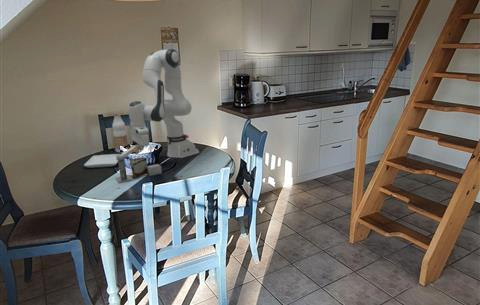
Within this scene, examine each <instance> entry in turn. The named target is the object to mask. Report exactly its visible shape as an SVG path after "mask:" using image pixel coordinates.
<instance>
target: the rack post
mask: <svg viewBox="0 0 480 305" xmlns="http://www.w3.org/2000/svg"><path fill="white" fill-rule="evenodd" d="M125 160H126V159H124V160H118V162H117V164H118V169H119V176H116V177H115V181H116V182H117V183H118V184H123V183H126V182H132V181H133V177H131V175H130V174H127V168H126V167H127V166H126V161H125Z"/></svg>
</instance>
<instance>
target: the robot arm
mask: <svg viewBox="0 0 480 305" xmlns="http://www.w3.org/2000/svg"><path fill="white" fill-rule="evenodd" d="M179 64H180V54H179V52H178V51H177V50H176V49H173V48H169V49H160V50H158V51H153V52H152V53H150V54H149V55H148V56H147V57H146V59H145V61H144V64H143V69H142V76H141V77H142V81H143V83H144V84H145V85H146V86H148V87H150V88H152V89H154V92H155V94H154V95H155V96H154V97H155V98H154V100H155V102H154V104H144V103H142V101H140V100H137V101H132V102H130V103H129V105H128V118H129V121H130V123H129V124H130V137H131V140H132V141H133V142H135V143H137V144H136V145H138V147H139V150H138V151H144V147H147V146H148V147H149V145H150V135H149V133H150V130H149V128H148V127H147V125H146V121H152V122H157V123H158V122H161V121H163V122H164V124H165V128H166V134H167V135H166V140H167V141H166V142H167V153H166V156H167V157H169V158H179V159H183V158H186V157H190V156H193V155H197V154H199V153H200V150H199V149H198V148H196V145H195V143H193V142H192V141H190V140H189V135H188V134H185V133H184V126H183V123H182V122H181V121H180V120H178V119H177V118H176V117H178V116H179V117H183V116H188V115H190V113H191V111H192V104H191V103H190V101H189V100H188V99H187V98H186V97H185V96H184V94H183V88H182V71H181V66H180V65H179ZM162 68H163V69H164V82H163V80H161V78H162V77H161V73H162ZM165 92H166V93H167V94H169V95H170V96H171V97H172V99H165Z"/></svg>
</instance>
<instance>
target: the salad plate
mask: <svg viewBox="0 0 480 305" xmlns="http://www.w3.org/2000/svg"><path fill="white" fill-rule="evenodd" d="M120 154H121V153H110V154H100V155H93V156H91V157H90V158H89V159H88V160H87V161H86V162H85V163H84V164H83V166H84V167H85V168H96V169H97V168H109V167H110V168H111V167H113V166H114V167H115V166H116V165H117V164H118V160H117V159H116V156H117V155H120Z"/></svg>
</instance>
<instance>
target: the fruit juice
mask: <svg viewBox="0 0 480 305" xmlns="http://www.w3.org/2000/svg"><path fill="white" fill-rule="evenodd" d="M121 115H122V114H121V113H119V112H118V113H117V112H116V113H113V117H114V118H113V121H112V126H111V127H112V128H111V129H112V130H113V131H112V135H113V142H114V149H115V152H116V153H121V152H120V149H119V147H120V146H127V145H128V146H129V142H128V136H127V135H128V134H127V130H126V124H125V122H124V120H123V119H122V116H121Z"/></svg>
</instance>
